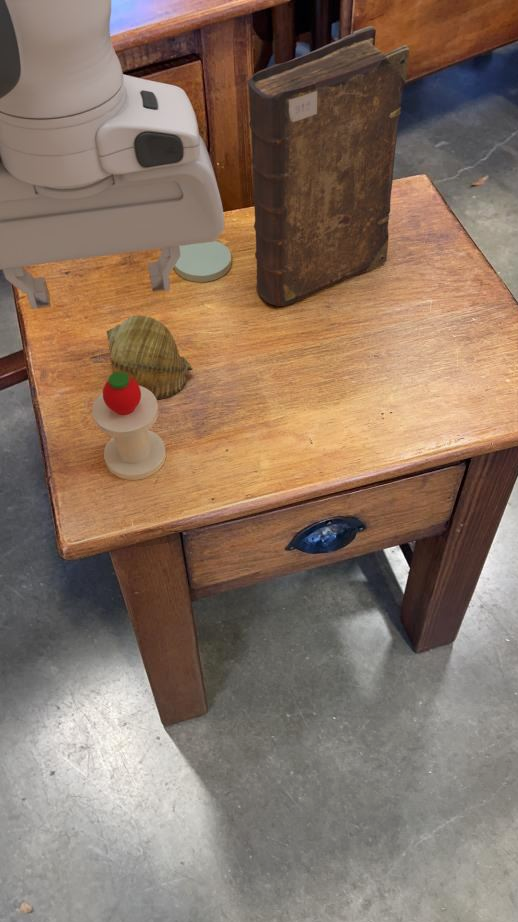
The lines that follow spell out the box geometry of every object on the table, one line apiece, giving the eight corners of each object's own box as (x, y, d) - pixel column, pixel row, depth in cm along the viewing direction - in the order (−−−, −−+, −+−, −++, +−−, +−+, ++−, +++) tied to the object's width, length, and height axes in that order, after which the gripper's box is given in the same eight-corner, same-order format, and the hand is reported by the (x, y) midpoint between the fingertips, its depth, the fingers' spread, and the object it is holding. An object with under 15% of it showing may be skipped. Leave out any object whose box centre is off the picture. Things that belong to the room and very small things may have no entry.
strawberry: (107, 423, 75) (100, 395, 72) (104, 396, 77) (97, 368, 74) (145, 417, 75) (139, 389, 72) (141, 391, 77) (135, 362, 74)
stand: (107, 484, 80) (94, 436, 74) (102, 438, 83) (89, 389, 77) (169, 474, 80) (161, 426, 75) (162, 429, 84) (153, 379, 78)
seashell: (187, 403, 91) (207, 333, 89) (174, 413, 85) (195, 337, 82) (103, 375, 91) (121, 304, 89) (83, 382, 84) (102, 306, 82)
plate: (177, 285, 97) (176, 278, 96) (169, 249, 101) (168, 242, 100) (236, 278, 98) (235, 271, 97) (226, 242, 102) (225, 235, 101)
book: (271, 313, 94) (268, 95, 74) (240, 279, 98) (230, 61, 78) (391, 266, 99) (419, 50, 79) (357, 235, 103) (377, 20, 83)
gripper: (-104, 172, 51) (-34, 341, 63) (222, 135, 54) (233, 303, 65) (-98, 119, 55) (-33, 287, 66) (207, 86, 57) (220, 254, 69)
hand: (101, 295), depth 66 cm, fingers open, 8 cm apart
